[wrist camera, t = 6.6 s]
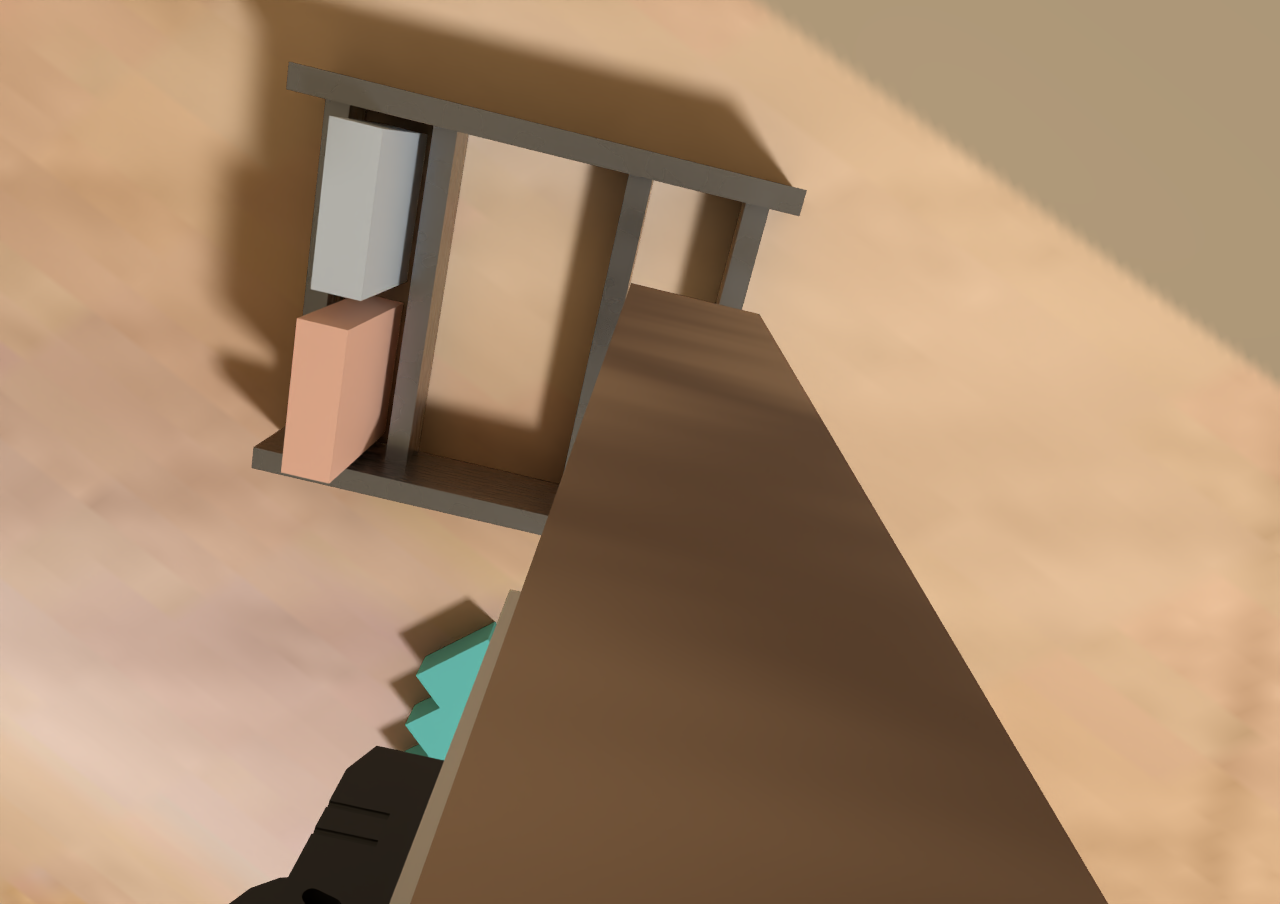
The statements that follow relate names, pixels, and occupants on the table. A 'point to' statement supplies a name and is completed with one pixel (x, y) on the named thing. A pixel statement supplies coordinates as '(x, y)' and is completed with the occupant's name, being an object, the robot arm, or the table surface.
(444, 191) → the floor rack
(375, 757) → the robot arm
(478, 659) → the alien figure
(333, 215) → the slate offcut
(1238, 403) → the table surface
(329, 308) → the terracotta offcut
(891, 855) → the walnut sheet
